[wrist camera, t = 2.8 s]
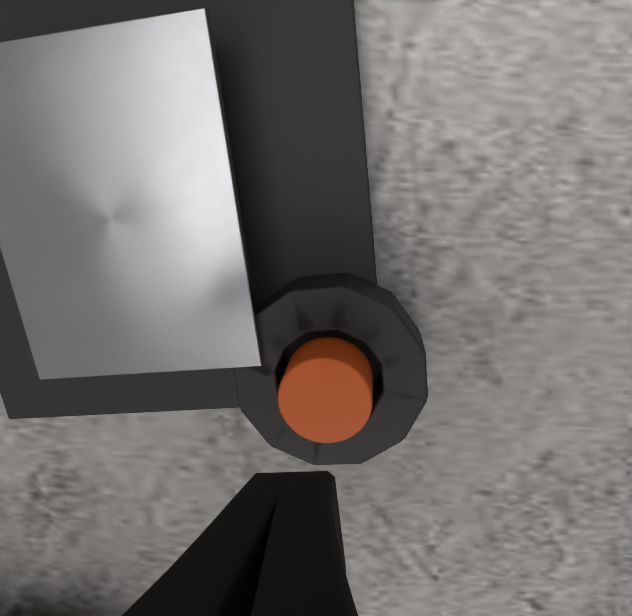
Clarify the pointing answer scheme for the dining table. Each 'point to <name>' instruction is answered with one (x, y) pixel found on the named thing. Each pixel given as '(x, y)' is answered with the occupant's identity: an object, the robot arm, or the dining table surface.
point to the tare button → (326, 390)
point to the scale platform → (123, 201)
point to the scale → (261, 227)
